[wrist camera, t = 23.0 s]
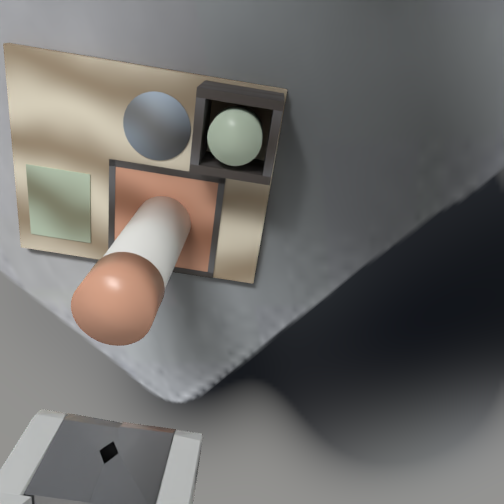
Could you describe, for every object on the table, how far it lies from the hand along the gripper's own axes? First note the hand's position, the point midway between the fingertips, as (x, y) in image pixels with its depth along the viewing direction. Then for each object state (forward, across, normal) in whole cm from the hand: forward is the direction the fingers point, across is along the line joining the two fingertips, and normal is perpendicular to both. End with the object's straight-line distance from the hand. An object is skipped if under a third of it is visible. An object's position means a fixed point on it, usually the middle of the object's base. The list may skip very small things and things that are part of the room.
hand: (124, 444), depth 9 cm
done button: (+26, 0, 0) cm, 26 cm away
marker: (+28, +5, +8) cm, 30 cm away
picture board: (+29, +7, +5) cm, 30 cm away
